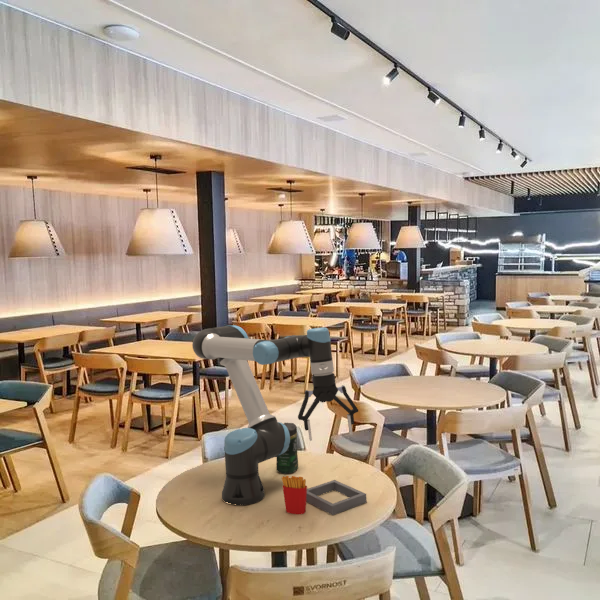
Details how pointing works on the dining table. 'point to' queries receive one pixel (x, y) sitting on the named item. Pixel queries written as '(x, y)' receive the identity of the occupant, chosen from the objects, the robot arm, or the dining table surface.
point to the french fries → (294, 494)
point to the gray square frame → (334, 508)
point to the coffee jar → (289, 453)
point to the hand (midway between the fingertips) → (330, 437)
